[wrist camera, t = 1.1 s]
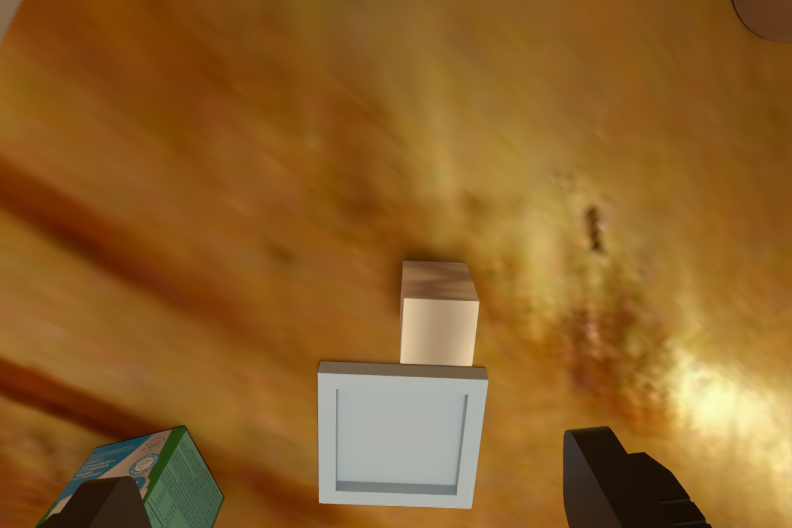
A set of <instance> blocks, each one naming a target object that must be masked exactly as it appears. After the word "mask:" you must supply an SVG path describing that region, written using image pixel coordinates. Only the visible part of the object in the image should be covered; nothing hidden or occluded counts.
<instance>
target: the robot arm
mask: <svg viewBox="0 0 792 528" xmlns="http://www.w3.org/2000/svg"><path fill="white" fill-rule="evenodd" d="M733 1H734V5H735V9H736V11H737V13H738V14H739V16H740V18H741V20H742V21H743V23H744V24H745V25H746V26H747V27H748V28H749V29H750V30H751V31H752V32H754V33H756V34H757V35H759V36H760V37H762V38H765V39H768V40H772V41H775V42H792V0H733ZM563 498H564V507H565V512H566V517H567V521H568V524H569V527H570V528H712V527H711V525H710V524H707V523H706V520H705V517H704V516H703V514H702V513H701V512H700V510H699V509H698V508H697V506H696V505H695V503H694V502H691V501H690V497H689V495H688V494H687V493H686V491H685V490H684V488H683V487H682V486H681V484H680V483H679V482H678V480H677V479H676V478H675V476H674V475H673V474H672V472H671V471H669V470H668V469H667V468H665V467H664V466H662V465H661V464H660V463H658V462H657V461H656V460H654V459H653V458H651V457H650V456H649V455H647V454H646V453H645V452H641V453H632V454H627V452H626V451H625V449H624V448H623V446H622V445H621V443H620V442H619V440H618V439H617V437H616V436H615V434H614V432H613V431H612V430H611V429H610V428H609V427H608V426H601V427H591V428H582V429H573V430H566V431H565V433H564V447H563ZM37 528H152V526H151V523H150V520H149V517H148V514H147V511H146V508H145V506H144V503H143V500H142V497H141V494H140V491H139V488H138V485H137V483H136V481H135V480H134V478H133V477H131V476H120V477H111V478H101V479H92V480H86V481H85V482H83V483H82V484H81V485H80V486H79V487H78V488H77V490H76V491H75V492H74V494H73V495H72V496H71V498H70V499H69V501H68V502H67V503H66V505H65V506H64V507H63V509H62V510H61V512H60V513H54V514H52V515H51V516H50V517H49V518H47V519H46V520H45V521H44V522H43V523H41V524H40V525H39V526H38V527H37Z"/></svg>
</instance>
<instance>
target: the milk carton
mask: <svg viewBox="0 0 792 528" xmlns="http://www.w3.org/2000/svg"><path fill="white" fill-rule="evenodd" d="M120 476H131V477H133V478H134V480H135V481H136V483H137V485H138V488H139V491H140V494H141V497H142V500H143V503H144V506H145V508H146V511H147V514H148V517H149V520H150V523H151V526H152V528H213V526H214V523H215V521H216V518H217V516H218V513H219V511H220V508H221V505H222V503H223V500H224V497H223V496H222V494H221V492H220V490H219V488H218V486H217V485H216V483H215V481H214V479H213V477H212V475H211V474H210V472H209V470H208V468H207V466H206V465H205V463H204V461H203V459H202V457H201V455H200V454H199V452H198V450H197V448H196V446H195V444H194V443H193V441H192V439H191V437H190V435H189V433H188V432H187V430H186V428H185V426H183V427H179V428H175V429H171V430H167V431H163V432H159V433H155V434H151V435H147V436H143V437H139V438H135V439H131V440H127V441H123V442H119V443H115V444H111V445H107V446H103V447H99V448H95V450H94V451H93V452H92V453H91V455H90V456H89V457H88V459H87V460H86V461H85V463H84V464H83V465H82V467H81V468H80V469H79V470H78V472H77V473H76V474H75V476H74V477H73V478H72V480H71V481H70V482H69V483H68V485H67V486H66V487H65V489H64V490H63V491H62V493H61V494H60V495H59V497H58V498H57V499H56V500H55V502H54V503H53V504H52V506H51V507H50V508H49V510H48V511H47V512H46V513H45V515H44V516H43V517H42V519H41V520H40V521H39V523H38V524H37V525H36V527H35V528H37V527H38V526H39V525H40V524H41V523H43V522H44V521H45V520H46V519H47V518H49V517H50V516H51V515H52V514H54V513H60V512H61V510H62V509H63V507H64V506H65V505H66V503H67V502H68V501H69V499H70V498H71V496H72V495H73V494H74V492H75V491H76V490H77V488H78V487H79V486H80V485H81V484H82V483H83V482H85V481H86V480H92V479H101V478H111V477H120Z"/></svg>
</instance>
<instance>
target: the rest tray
mask: <svg viewBox="0 0 792 528" xmlns="http://www.w3.org/2000/svg"><path fill="white" fill-rule="evenodd" d="M487 387H488V377H487V373H486V370H485V368H477V367H453V366H428V365H404V364H379V363H355V362H330V361H321V362H320V366H319V370H318V442H319V503H333V504H361V505H388V506H415V507H442V508H469V509H471V508H472V500H473V492H474V485H475V477H476V470H477V462H478V455H479V447H480V440H481V432H482V424H483V417H484V409H485V402H486V394H487Z"/></svg>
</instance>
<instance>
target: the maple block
mask: <svg viewBox="0 0 792 528" xmlns="http://www.w3.org/2000/svg"><path fill="white" fill-rule="evenodd" d="M478 309H479V299H478V296H477V293H476V290H475V287H474V284H473V281H472V278H471V275H470V272H469V269H468V266H467V263H455V262H432V261H410V260H403V268H402V286H401V304H400V363H406V364H431V365H455V366H472V361H473V352H474V344H475V335H476V327H477V318H478Z"/></svg>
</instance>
